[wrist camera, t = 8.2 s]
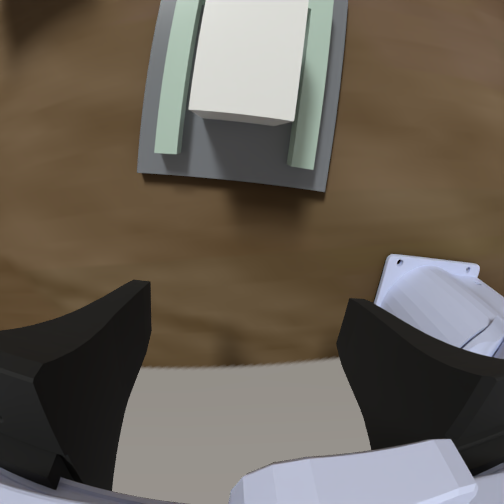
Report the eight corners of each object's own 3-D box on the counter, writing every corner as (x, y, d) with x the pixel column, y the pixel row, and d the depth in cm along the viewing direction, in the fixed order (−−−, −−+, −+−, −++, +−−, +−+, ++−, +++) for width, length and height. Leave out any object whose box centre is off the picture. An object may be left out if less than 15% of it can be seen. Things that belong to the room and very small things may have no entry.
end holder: (344, -1, 15) (356, -14, 13) (321, 189, 19) (332, 196, 17) (170, -23, 14) (163, -39, 12) (140, 171, 18) (129, 175, 16)
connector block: (286, 30, 15) (310, -11, 10) (273, 126, 17) (294, 121, 12) (216, 21, 15) (210, -24, 9) (202, 118, 17) (188, 109, 11)
